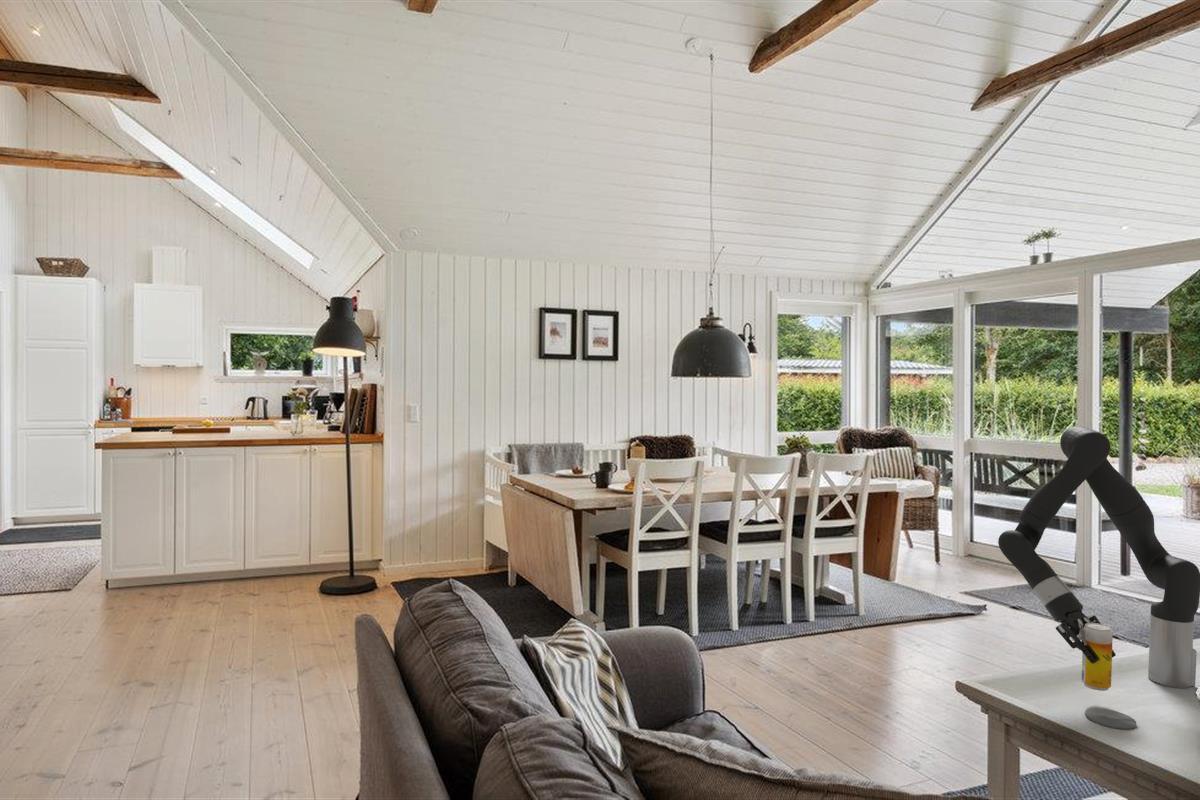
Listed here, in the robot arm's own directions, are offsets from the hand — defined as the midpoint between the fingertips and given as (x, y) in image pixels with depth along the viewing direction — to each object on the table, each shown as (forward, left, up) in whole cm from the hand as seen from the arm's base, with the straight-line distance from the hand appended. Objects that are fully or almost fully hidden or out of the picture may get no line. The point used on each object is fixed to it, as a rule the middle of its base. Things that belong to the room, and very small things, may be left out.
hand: (1104, 659), depth 185 cm
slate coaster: (+3, +8, -11) cm, 14 cm away
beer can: (+1, -2, -8) cm, 8 cm away
